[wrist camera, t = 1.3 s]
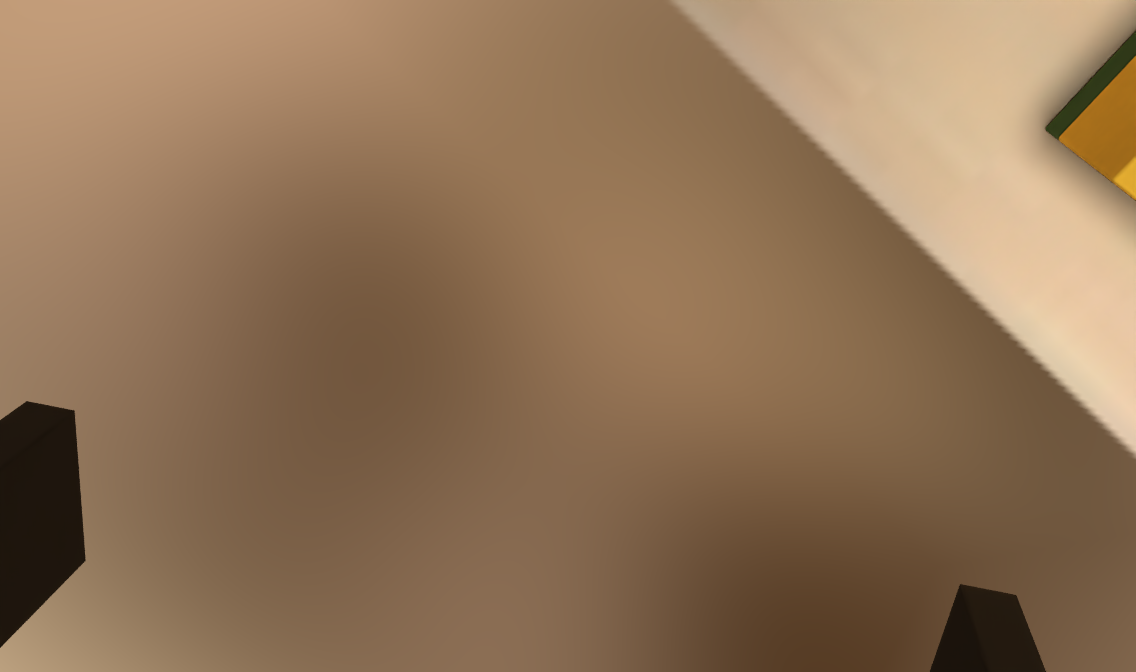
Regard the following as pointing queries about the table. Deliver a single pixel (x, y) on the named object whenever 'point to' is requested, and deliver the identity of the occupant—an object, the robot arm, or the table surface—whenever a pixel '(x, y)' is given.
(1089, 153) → the sponge
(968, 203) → the table surface
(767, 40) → the table surface
